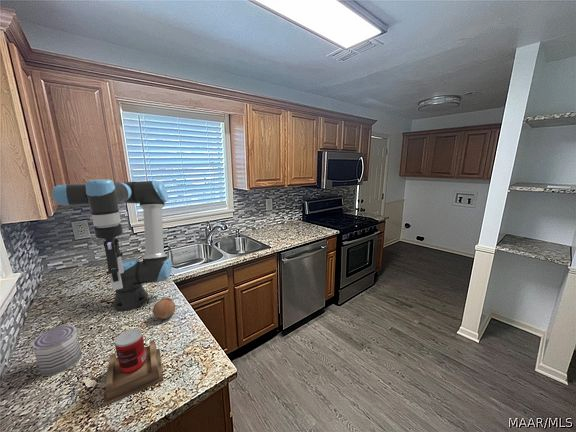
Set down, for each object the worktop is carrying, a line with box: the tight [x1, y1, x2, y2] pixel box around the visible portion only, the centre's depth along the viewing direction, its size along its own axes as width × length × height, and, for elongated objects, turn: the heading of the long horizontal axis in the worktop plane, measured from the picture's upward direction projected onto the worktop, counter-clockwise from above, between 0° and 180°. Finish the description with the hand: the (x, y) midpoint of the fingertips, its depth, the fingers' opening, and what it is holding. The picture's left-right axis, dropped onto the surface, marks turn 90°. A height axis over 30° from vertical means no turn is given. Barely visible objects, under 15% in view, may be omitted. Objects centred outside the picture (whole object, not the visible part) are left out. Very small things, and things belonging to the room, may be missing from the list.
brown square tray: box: [102, 339, 164, 408], centre depth 79 cm, size 16×16×6 cm
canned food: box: [114, 328, 146, 373], centre depth 78 cm, size 8×8×11 cm
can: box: [30, 323, 83, 377], centre depth 84 cm, size 11×11×12 cm
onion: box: [152, 296, 176, 321], centre depth 110 cm, size 10×9×10 cm
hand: (118, 280), depth 85 cm, fingers open, 13 cm apart
